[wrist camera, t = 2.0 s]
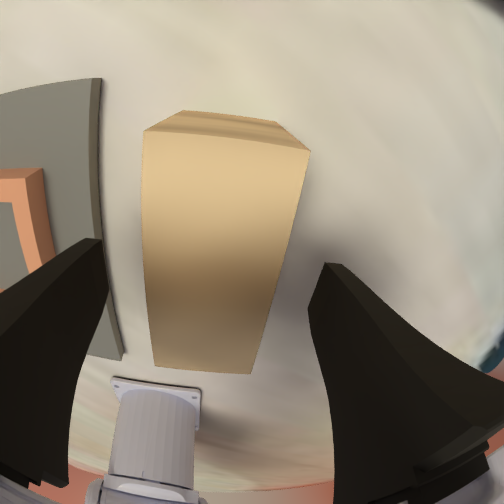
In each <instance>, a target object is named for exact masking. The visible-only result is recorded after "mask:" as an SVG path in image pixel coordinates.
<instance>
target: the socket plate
mask: <svg viewBox="0 0 504 504" xmlns="http://www.w3.org/2000/svg"><path fill="white" fill-rule="evenodd" d="M100 87H101V78H89V79H80V80H71V81H64V82H57V83H51V84H45V85H40V86H35V87H30V88H25V89H21V90H16V91H12V92H8V93H4V94H1V95H0V293H1V292H3V291H4V290H6V289H7V288H9V287H11V286H12V285H14V284H15V283H17V282H18V281H20V280H21V279H23V278H24V277H26V276H27V275H29V274H30V273H32V272H33V271H35V270H36V269H38V268H39V267H41V266H42V265H44V264H45V263H46V262H48V261H49V260H51V259H52V258H54V257H55V256H57V255H58V254H60V253H61V252H63V251H64V250H66V249H67V248H69V247H70V246H72V245H74V244H75V243H77V242H79V241H80V240H82V239H84V238H94V239H102V243H103V236H102V227H101V216H100V203H99V186H98V116H99V99H100ZM103 251H104V244H103ZM104 258H105V252H104ZM105 264H106V260H105ZM106 271H107V266H106ZM107 277H108V273H107ZM108 283H109V279H108ZM109 288H110V285H109ZM123 353H124V349H123V345H122V341H121V337H120V333H119V329H118V324H117V320H116V315H115V311H114V306H113V301H112V296H111V290H109V293H108V297H107V300H106V304H105V307H104V310H103V314H102V316H101V319H100V321H99V324H98V326H97V329H96V331H95V334H94V336H93V339H92V341H91V344H90V346H89V349H88V351H87V355H92V356H97V357H101V358H106V359H111V360H117V361H121V360H122V356H123Z"/></svg>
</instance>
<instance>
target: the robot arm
mask: <svg viewBox="0 0 504 504" xmlns="http://www.w3.org/2000/svg"><path fill="white" fill-rule="evenodd" d="M109 290H110V288H109V283H108V277H107V271H106V264H105V258H104V251H103V243H102V239H94V238H84V239H82V240H80V241H79V242H77V243H75V244H74V245H72V246H70V247H69V248H67V249H66V250H64V251H63V252H61V253H60V254H58V255H57V256H55V257H54V258H52V259H51V260H49V261H48V262H46V263H45V264H44V265H42V266H41V267H39V268H38V269H36V270H35V271H33V272H32V273H30V274H29V275H27V276H26V277H24V278H23V279H21V280H20V281H18V282H17V283H15V284H14V285H12V286H11V287H9V288H7V289H6V290H4V291H3V292H1V293H0V504H60V503H58V502H55V501H53V500H50V499H48V498H46V497H44V496H41V495H39V494H37V493H35V492H33V491H31V490H29V489H28V486H29V482H32V483H33V484H35V485H38V486H40V485H41V480H42V481H44V482H47V483H49V484H51V485H54V486H56V487H59V488H63V487H65V486H67V485H68V484H69V478H68V441H69V428H70V420H71V412H72V405H73V400H74V395H75V390H76V385H77V380H78V377H79V374H80V370H81V367H82V364H83V362H84V359H85V356H86V354H87V351H88V349H89V346H90V344H91V341H92V339H93V336H94V334H95V331H96V329H97V326H98V324H99V321H100V319H101V316H102V314H103V310H104V307H105V304H106V300H107V297H108V293H109ZM308 315H309V323H310V329H311V335H312V339H313V343H314V346H315V350H316V354H317V357H318V361H319V364H320V368H321V372H322V375H323V379H324V383H325V386H326V390H327V395H328V400H329V406H330V414H331V421H332V431H333V443H334V468H335V475H334V499H333V504H504V445H503V446H502V447H500V448H499V449H497V450H496V451H494V452H493V453H491V454H490V455H489V456H487V457H486V456H485V454H484V452H485V451H486V450H488V449H489V444H488V442H487V440H488V439H489V438H490V437H492V436H493V435H494V434H496V433H497V432H498V431H500V430H501V429H502V428H504V382H503V381H500V380H498V379H495V378H493V377H491V376H489V375H487V374H485V373H483V372H481V371H479V370H477V369H475V368H473V367H471V366H469V365H468V364H466V363H464V362H462V361H461V360H459V359H458V358H456V357H454V356H453V355H451V354H450V353H448V352H447V351H445V350H443V349H442V348H441V347H439V346H438V345H436V344H435V343H433V342H432V341H431V340H429V339H428V338H427V337H425V336H424V335H423V334H421V333H420V332H419V331H417V330H416V329H415V328H414V327H412V326H411V325H410V324H409V323H408V322H407V321H405V320H404V319H403V318H402V317H401V316H400V315H398V314H397V313H396V312H395V311H394V310H393V309H392V308H390V307H389V306H388V305H387V304H386V303H385V302H384V301H383V300H382V299H381V298H379V297H378V296H377V295H376V294H375V293H374V292H373V291H372V290H371V289H370V288H369V287H368V286H366V285H365V284H364V283H363V282H362V281H361V280H360V279H359V278H358V277H357V276H355V275H354V274H353V273H352V272H351V271H350V270H348V269H347V268H346V267H345V266H343V265H342V264H336V263H326V262H325V263H324V266H323V269H322V271H321V274H320V277H319V280H318V282H317V285H316V288H315V290H314V293H313V296H312V298H311V301H310V303H309V306H308ZM110 383H111V385H112V387H113V390H114V392H115V394H116V396H117V399H118V401H119V403H120V406H119V411H118V416H117V421H116V426H115V432H114V438H113V443H112V450H111V456H110V463H109V470H108V474H104V480H102V479H98V478H97V479H96V480H95V481H93V482H91V483H90V484H89V486H88V489H87V493H86V498H85V504H208V503H207V501H206V500H205V499H204V498H200V497H199V495H198V494H199V492H198V491H194V490H193V487H194V437H195V431H198V430H199V419H200V396H201V392H200V391H199V390H198V389H192V388H182V387H173V386H165V385H157V384H150V383H144V382H138V381H132V380H126V379H121V378H115V377H113V378H111V380H110Z"/></svg>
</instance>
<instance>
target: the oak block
mask: <svg viewBox="0 0 504 504" xmlns="http://www.w3.org/2000/svg"><path fill="white" fill-rule="evenodd" d="M310 152H311V151H310V150H309V149H308V148H307V147H305V146H304V145H303V144H302V143H301V142H300V141H298V140H297V139H296V138H295V137H294V136H293V135H291V134H290V133H289V132H288V131H286V130H285V129H284V128H283V127H282V126H280V125H279V124H278V123H277V122H275V121H269V120H263V119H257V118H250V117H243V116H236V115H228V114H219V113H209V112H198V111H186V110H183V111H181V112H179V113H177V114H175V115H173V116H171V117H169V118H167V119H165V120H163V121H161V122H159V123H157V124H155V125H154V126H152V127H150V128H148V129H146V130H145V131H144V132H143V149H142V177H141V220H142V249H143V266H144V280H145V292H146V303H147V312H148V321H149V329H150V337H151V344H152V351H153V357H154V364H155V366H158V367H166V368H174V369H183V370H193V371H205V372H218V373H235V374H251V372H252V368H253V365H254V362H255V358H256V355H257V352H258V348H259V345H260V342H261V338H262V335H263V331H264V328H265V324H266V321H267V317H268V314H269V310H270V307H271V303H272V300H273V296H274V293H275V289H276V285H277V282H278V278H279V274H280V271H281V267H282V263H283V260H284V256H285V252H286V248H287V244H288V241H289V237H290V233H291V229H292V225H293V221H294V217H295V213H296V209H297V205H298V201H299V197H300V193H301V189H302V185H303V181H304V177H305V173H306V169H307V164H308V160H309V156H310Z"/></svg>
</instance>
